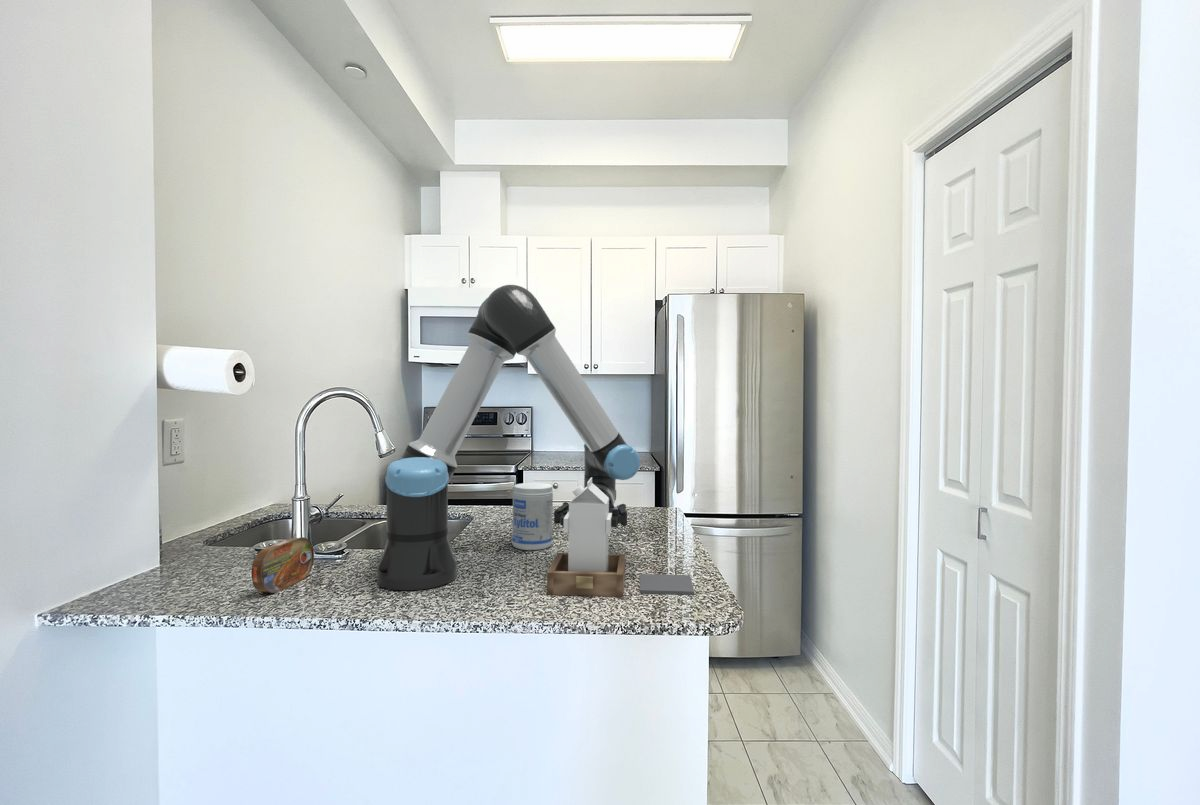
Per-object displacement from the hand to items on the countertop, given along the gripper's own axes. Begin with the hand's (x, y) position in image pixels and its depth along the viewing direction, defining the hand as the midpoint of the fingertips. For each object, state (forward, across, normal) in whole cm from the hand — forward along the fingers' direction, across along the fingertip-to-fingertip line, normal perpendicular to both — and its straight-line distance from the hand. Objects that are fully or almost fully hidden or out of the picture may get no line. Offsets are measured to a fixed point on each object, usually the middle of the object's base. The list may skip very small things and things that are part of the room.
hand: (586, 526), depth 113 cm
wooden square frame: (-5, 0, -12) cm, 13 cm away
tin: (+1, +58, -13) cm, 59 cm away
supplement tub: (-32, +16, -12) cm, 38 cm away
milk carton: (-5, 0, -11) cm, 12 cm away
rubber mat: (-5, -15, -12) cm, 20 cm away
